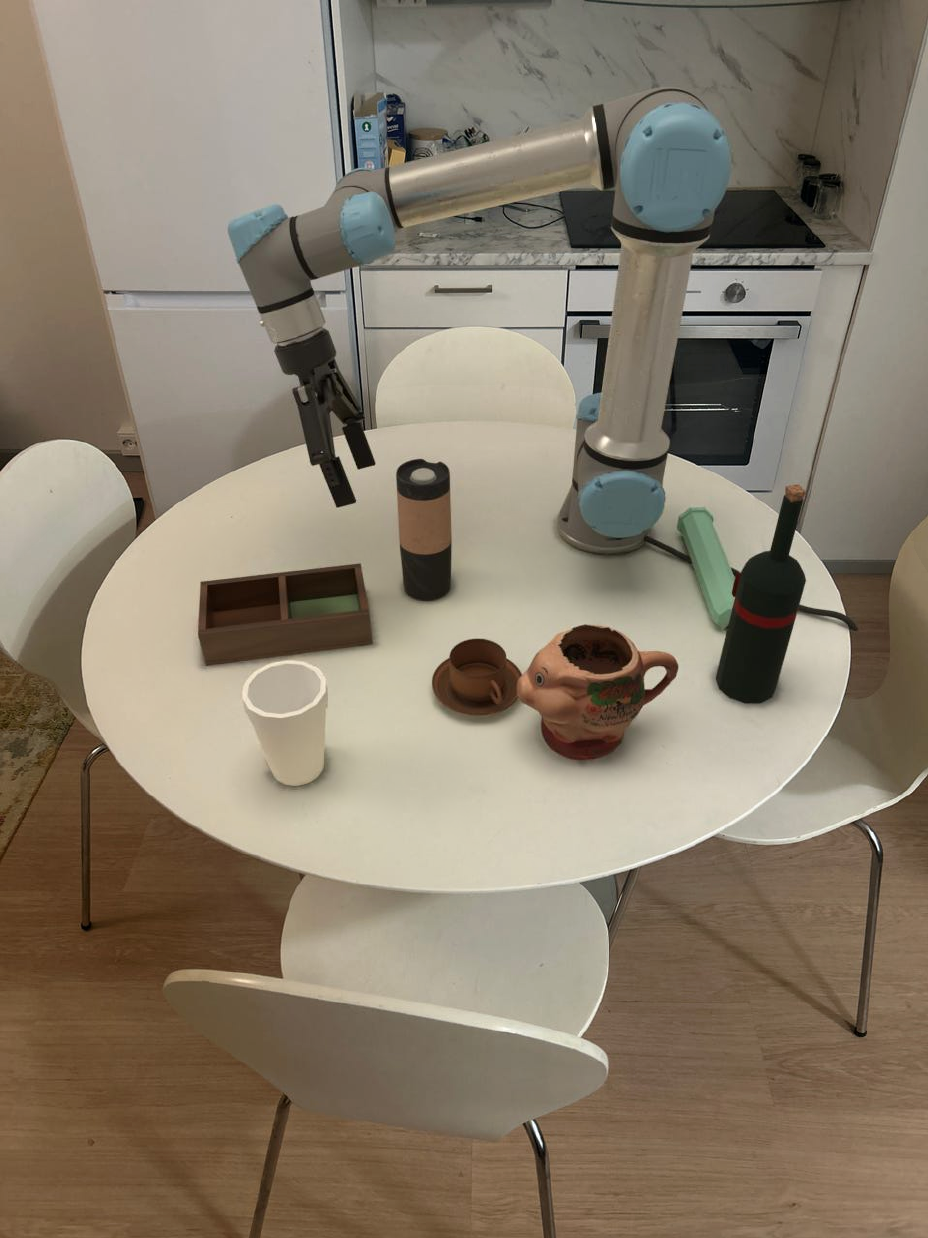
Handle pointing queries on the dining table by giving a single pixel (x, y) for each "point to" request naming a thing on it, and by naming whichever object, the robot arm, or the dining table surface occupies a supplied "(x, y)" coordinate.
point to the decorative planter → (590, 689)
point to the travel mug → (425, 528)
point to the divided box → (283, 614)
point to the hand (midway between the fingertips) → (357, 484)
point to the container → (708, 562)
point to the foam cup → (289, 718)
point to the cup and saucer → (476, 679)
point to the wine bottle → (763, 612)
